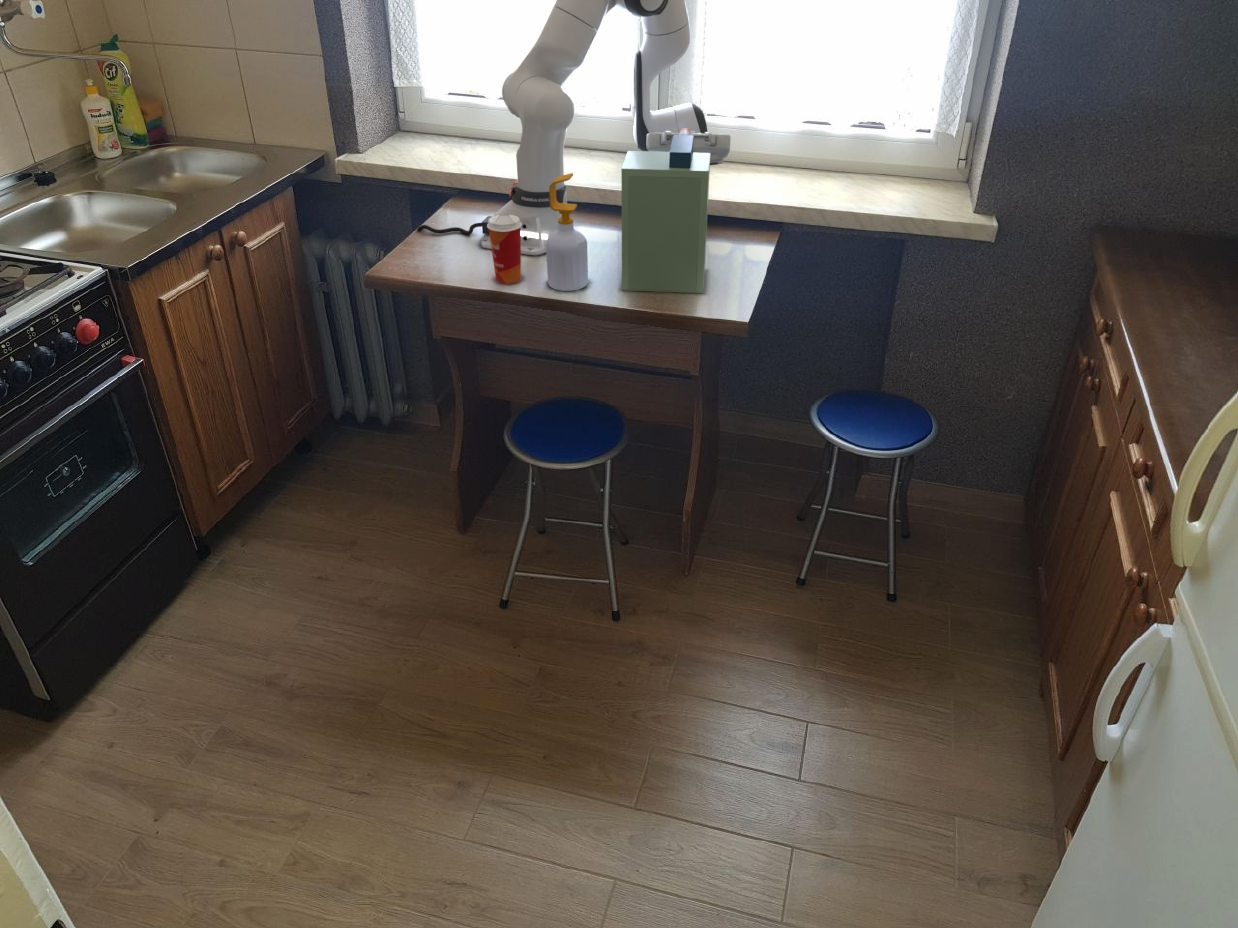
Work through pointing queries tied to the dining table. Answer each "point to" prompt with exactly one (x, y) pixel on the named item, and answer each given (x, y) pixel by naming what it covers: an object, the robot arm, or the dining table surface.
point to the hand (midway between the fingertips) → (687, 135)
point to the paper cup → (506, 247)
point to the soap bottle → (566, 247)
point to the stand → (664, 222)
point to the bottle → (681, 150)
